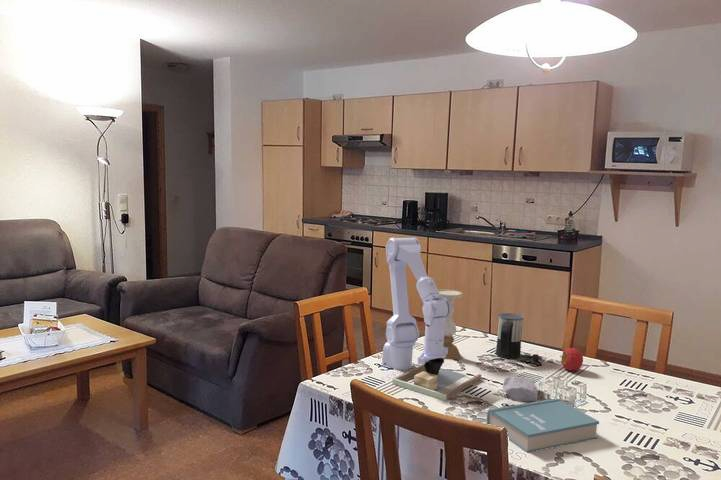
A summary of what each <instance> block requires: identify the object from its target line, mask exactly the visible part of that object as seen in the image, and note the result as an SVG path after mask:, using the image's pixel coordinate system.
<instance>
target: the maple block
mask: <svg viewBox="0 0 721 480" xmlns="http://www.w3.org/2000/svg"><path fill="white" fill-rule="evenodd" d="M437 376H438V375H434V374H431V373H427V372H426V371H425V370H424V371H422V372H419V373H417V374H415V375H413V384H414V385H417V386H421V387H424V388H427V389H430V390H435V389H436V388H437Z"/></svg>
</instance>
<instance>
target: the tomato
mask: <svg viewBox="0 0 721 480" xmlns="http://www.w3.org/2000/svg"><path fill="white" fill-rule="evenodd" d="M559 357H561V360H560V361H561V365H562V367H563V368H564V369H565V370H567V371H568V372H575V371H578V370H580V369H581V368H582V366H583V363H584V356H583V354H582V352H581V351H580V350H579V349H577V348H576V347H575V348H574V347H568V348H566V349H565V350H562V355H559Z"/></svg>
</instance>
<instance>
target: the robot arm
mask: <svg viewBox="0 0 721 480" xmlns="http://www.w3.org/2000/svg"><path fill="white" fill-rule="evenodd" d="M421 253H422V246H421V244H420V241H419V239H418V237H415V236H414V237H390V238H389V239H388V240H387V242H386V245H385V256H386V263H387V264H388V268H389V276H390V280H389V281H390V290H391V300H392V301H391V303H392V313H393V315H392V316H391V317H390V318H389V319H388V320H387V321H386V331H385V339H386V340H387V342H385V344H384V345H383V349H382V361H381V368H383V367H385V366H386V367H389V368H391V369H393V370H399V371H407V370H408V371H409V370H410V369H412V367H413V347H414V346H415V345H416V342H417V341H418V340H419V337H420V330H419V327H418V325H417V319H416V318H414V316H412V315H411V314H410V308H409V296H408V284H407V275H406V273H407V272H406V266H407V265H408V266H409V269H410V270H411V272H412V274H413V275H414V278H415V279H416V281H417V282H416V284H415V288H416V290H417V292H418V295H419V297H420V300H421V301H422V304H423V305H422V307H421V309H422V310H421V311H422V314H423V321H424V324H425V329H424V345H423V351H422V353H421V354H420V356H418V357H417V364H418V365H420V366H421V365H424V367H425V370H424V371H425V372H427V373H431V374H434V375H438V373H439V371H441V367H442V366H443V364H444V363H445V359H443V358H445V357H446V354H448V348H447V347H443V345H444V329H445V317H447V316H448V315H449V313H450V306H449V303H448V300H447V299H445V298H444V297H443V296H442V295H440V293H439V291H438V290H439V289H438V288H437V285H436V283H435V280H434V279H433V278H432V277H430V276H428V273H427V270H426V268H425V266H424V263H423V260H422V257H421Z"/></svg>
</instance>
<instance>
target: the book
mask: <svg viewBox="0 0 721 480" xmlns="http://www.w3.org/2000/svg"><path fill="white" fill-rule="evenodd" d="M486 411H487V412H486V421H485V422H486V424H491V425H496V426H501V427H505V428H506V429H507V431H508V437H509V440H508V441H510V442H511V443H512V444H514V445H515V446H516V447H518V448H520V449H521V450H522V451H524V452H525V453H526V452H527V454H528V453H533V452H537V451H536V450H538V451H542V450H541V449H543V450H547V449H546V448H548V449H552V448H551V447H553V448H557V446H558V447H562V446H561V445H563V446H566V445H571V444H576V443H581V442H587V441H591V440H596V439H598V436H597V431H598V425H599V424H600V421H599V420H598V419H596V418H594V417H592V416H590V415H589V414H587V413H585V412H582V411H581V410H579V409H577V408H576V407H573V406H571V405H570V404H568V403H566V402H564V401H562V400H560V399H559V398H551V399H545V400H538V401H536V402H534V401H530V402H527V403H519V404H513V405H509V406H508V405H507V406H501V407H496V408H489V409H488V410H486ZM532 451H533V452H532Z"/></svg>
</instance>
